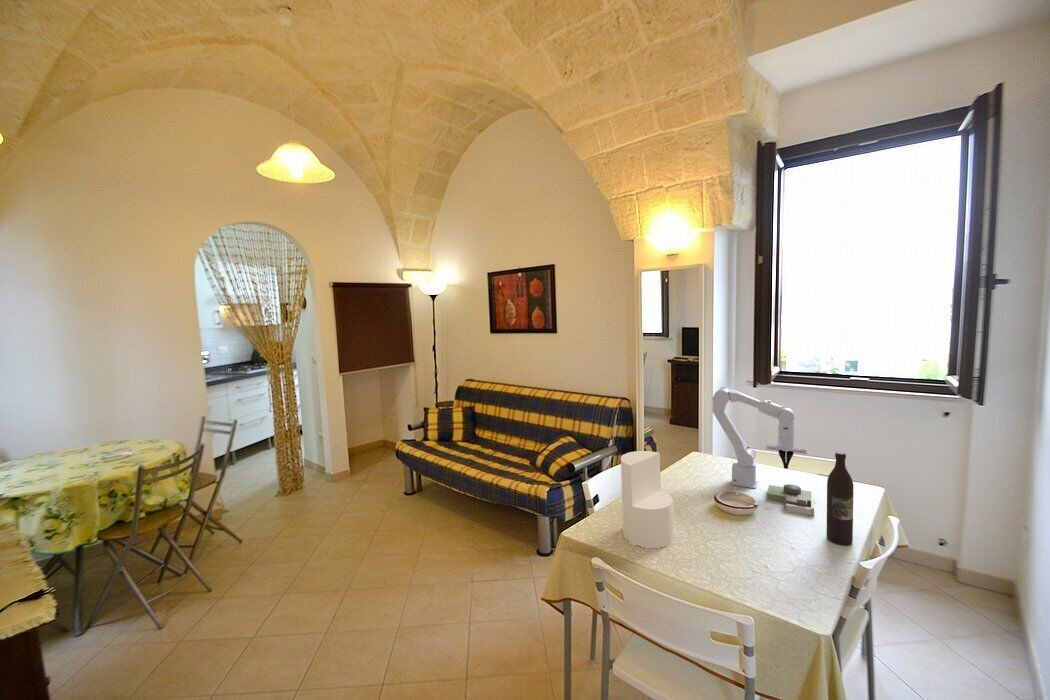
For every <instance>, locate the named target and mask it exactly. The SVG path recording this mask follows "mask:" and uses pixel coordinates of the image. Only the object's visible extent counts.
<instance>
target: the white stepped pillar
mask: <svg viewBox="0 0 1050 700" xmlns="http://www.w3.org/2000/svg"><path fill="white" fill-rule="evenodd" d="M660 454H661V453H660V452H656V451H649V450H637V451H630V452H627V453H625V454H622V455H621V457H620V473H621V502H622V503H621V504H622V505H621V506H622V529H623V531H622V536H623V535H624V536H623V538H624V537H625V538H626V539H627V540H628V541H629V542H631V543H633V544H636V545H638V546H642V547H647V548H646V549H648V548H658V549H660V548H659V547H663V548H665V547H664V546H666V547H668V546H670V545H671V544H672V543H673V542H674V539H673V538H674V536H675V535H674V500H673V496H671V495H670V493H667V492H666V491H663V490H661V489H662V488H661V455H660ZM625 538H624V539H625ZM626 539H625V540H626ZM627 540H626V541H627ZM628 541H627V542H628ZM672 541H673V542H672ZM629 542H628V543H629ZM671 542H672V543H671ZM631 543H630V544H631ZM670 543H671V544H670ZM633 544H632V545H633ZM669 544H670V545H669ZM667 545H668V546H667ZM638 546H637V547H638ZM642 547H641V548H642Z"/></svg>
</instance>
